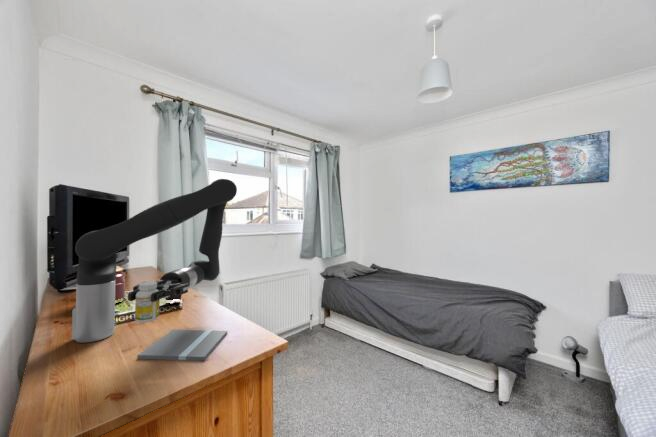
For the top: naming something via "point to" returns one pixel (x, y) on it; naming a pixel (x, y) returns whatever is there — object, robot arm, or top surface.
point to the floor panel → (184, 345)
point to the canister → (119, 283)
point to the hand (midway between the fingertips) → (141, 297)
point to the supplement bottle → (146, 303)
